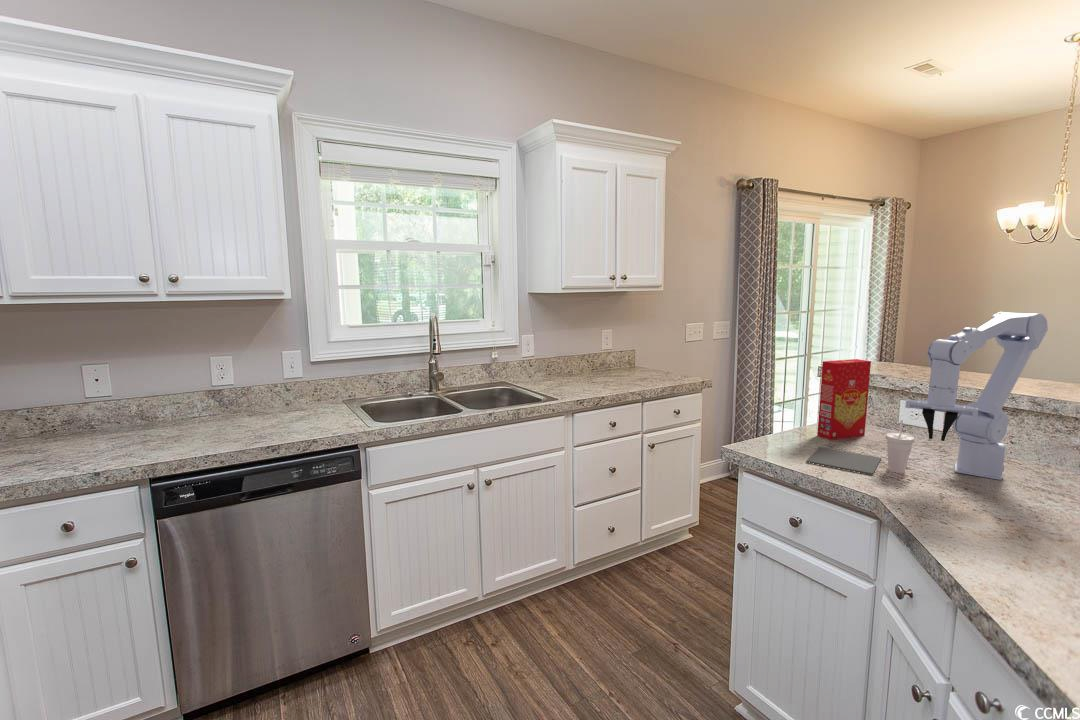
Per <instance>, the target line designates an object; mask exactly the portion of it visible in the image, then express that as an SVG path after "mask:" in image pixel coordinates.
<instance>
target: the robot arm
mask: <svg viewBox="0 0 1080 720" xmlns="http://www.w3.org/2000/svg"><path fill="white" fill-rule="evenodd" d="M1048 328H1049V327H1048V320H1047V318H1046V316H1045V314H1042V313H1039V312H1037V313H1024V312H1006V311H998V312H996V313H995V314H992V315H991V318H990V320H989V321H987V322H985V323H984V324H982V325H980V326H978V327H977V328H976V327H968V326H967V327H964V328H962V331H960V332H957V333H956V334H951V335H949V337H947V338H946V339H940V338H939V339H936V340H934V341H932V342H930V344H929V346H928V349H927V350H926V356H927V359H928V366H929V368H930V375H929V384H928V392H927V393H928V394H927V398H926V399H927V400H918V399H917V400H916V399H906V400H905V404H904V405H905V407H904V408H906V409H917V410H922V412H921V414H922V416H923V418H924V421H925V425H926V427H927V431H928V439H929V440H933V437H934V421H935V414H936V412H941V413H945V414H944V421H943V429H942V433H941V438H940V441H941V442H945V440H946V437H947V435H948V432H949V430H950V428H951V427H953V430H954V431H955V433H957V435H956V436H957V437H958V438H959V444H958V452H957V460H956V462H955V463H954V473H957V474H958V473H959V474H964V475H969V476H977V477H982V478H988V479H992V480H998V481H1001V480H1002V479H1003V478H1002V477H1003V472H1004V471H1005V464H1004V463H1005V462H1004V461H1005V456H1006V455H1005V454H1006V444H1005V443H1002V442H1001V441H1002V440H1004V438H1005V436H1006V435H1007V429H1008V425H1009V423H1010V421H1011V420H1010V417H1009V416H1008V415H1007V413H1006V412H1004V410H1003V408H1004V406H1005V404H1006V403H1007V401H1008V398H1009V397H1010V395H1011V393H1012V390H1013V389H1014V387H1015V385H1016V383H1017V382H1018V380H1019V378H1020V376H1021V374H1022V373H1023V371H1024V369H1025V367H1026V365H1027V363H1028V361H1029V360H1030V357H1031V356H1032V354H1033V351H1035V350H1037V349H1038V348H1039V347H1040V345H1041V343H1042V341H1043V339H1044V337H1045V336H1046V334H1047V332H1048ZM993 338H995V341H996V342H997V345H998V346H1000V347H1002V348H1003V349H1004V351H1003V353H1002V355H1001V357H1000V358H999V361H998V362H997V364H996V365H995V367H994V369H993V371H992V373H991V375H990V377H989V379H988V381H987V383H986V384H985V386H984V388H983V390H982V392H981V394H980V396H979V397H978V399H977V400H976V401H974V402H971V403H968V404H965V405H960V404H956V402H957V395H958V387H959V381H960V372H961V370H960V369H961V364H964V363H965V362H966V361H967V359H968V357H969V356H970V355H971V354H973V353H974V352H976V351H979V350H980V349H982V348H984V347H985V345H986V344H987V341H988V340H991V339H993Z"/></svg>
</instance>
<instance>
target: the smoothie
mask: <svg viewBox="0 0 1080 720" xmlns="http://www.w3.org/2000/svg"><path fill="white" fill-rule="evenodd" d="M903 423H904V420H903V419H900V421H899V430H898V432H888V433H886V434H885V439H886V446H887V447H886V448H887V463H888V464H887V466H888V469H887V470H888V471H889V472H892V473H894V472H896V473H895V474H905V473H906V469H907V466H908V463H909V458H910V456H911V452H912V447H913V444H914V443H915V437H914V436H912V435H909V434H906V433H903Z"/></svg>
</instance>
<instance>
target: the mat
mask: <svg viewBox="0 0 1080 720" xmlns="http://www.w3.org/2000/svg"><path fill="white" fill-rule="evenodd" d="M881 460H882V458H881V457H878V456H874V455H868V454H862V453H855V452H852V451H851V452H850V451H844V450H838V449H832V448H829V447H822V446H821V447H820V446H818V448H816V450H814V452H813V453H812V454H811V455H810V456H809V457H808V458H807V459H806V461H805V463H806V462H810V463H814V464H813V465H816V464H819V465H818V466H821V465H824V466H823V467H826V466H830V467H829V468H831V467H835V468H834V469H836V468H840V469H839V470H841V469H845V470H844V471H846V470H850V471H849V472H852V471H855V472H854V473H857V472H860V473H859V474H862V473H865V474H864V475H867V474H869V475H868V476H872V475H874V474H875V471H876V470H877V468H878V466H879V464H880V462H881ZM810 463H809V464H810Z"/></svg>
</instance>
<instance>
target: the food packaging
mask: <svg viewBox="0 0 1080 720" xmlns="http://www.w3.org/2000/svg"><path fill="white" fill-rule="evenodd" d="M871 364H872V361H870V360H867V359H865V360H864V359H860V358H855V359H853V358H852V359H838V360H823V361H822V366H821V380H820V390H819V391H820V393H819V406H818V407H819V408H818V418H817V419H818V422H817V433H816V434H817V437H821V438H824V439H827V440H829V441H833V440H840V439H841V440H842V439H847V438H855V437H864V436H865V435H866V434H865V432H866V421H867V412H868V411H867V410H868V400H869V390H870V389H869V388H870V377H871V366H872V365H871Z"/></svg>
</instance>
